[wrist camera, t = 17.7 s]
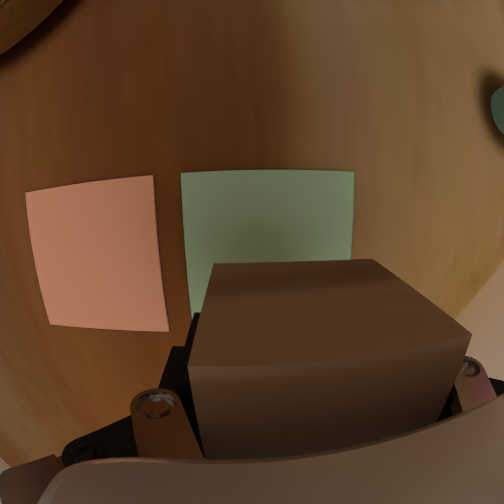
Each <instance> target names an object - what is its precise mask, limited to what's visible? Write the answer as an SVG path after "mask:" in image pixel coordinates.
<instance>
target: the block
mask: <svg viewBox="0 0 504 504" xmlns="http://www.w3.org/2000/svg"><path fill="white" fill-rule="evenodd" d="M471 336H472V334H471V333H470V332H469V331H467V330H466V329H465V328H464V327H463V326H461V325H460V324H459V323H458V322H457V321H455V320H454V319H453V318H451V317H450V316H449V315H448V314H446V313H445V312H444V311H443V310H441V309H440V308H439V307H437V306H436V305H435V304H433V303H432V302H431V301H430V300H428V299H427V298H426V297H424V296H423V295H422V294H420V293H419V292H418V291H416V290H415V289H414V288H412V287H411V286H409V285H408V284H407V283H405V282H404V281H403V280H401V279H400V278H399V277H397V276H396V275H394V274H393V273H392V272H390V271H389V270H387V269H386V268H385V267H383V266H382V265H380V264H379V263H378V262H376V261H375V260H373V259H357V260H326V261H292V262H253V263H214V264H213V267H212V271H211V275H210V279H209V282H208V286H207V290H206V294H205V298H204V302H203V305H202V309H201V313H200V317H199V321H198V325H197V329H196V333H195V337H194V341H193V345H192V349H191V353H190V358H189V362H188V373H189V379H190V385H191V390H192V396H193V401H194V407H195V412H196V417H197V422H198V427H199V432H200V437H201V441H202V446H203V450H204V455H205V459H206V460H231V459H258V458H273V457H284V456H294V455H302V454H310V453H317V452H323V451H329V450H335V449H340V448H346V447H351V446H355V445H360V444H365V443H369V442H373V441H377V440H381V439H385V438H389V437H392V436H396V435H399V434H403V433H406V432H409V431H412V430H416V429H419V428H422V427H425V426H428V425H430V424H433V423H436V421H437V419H438V417H439V415H440V413H441V411H442V409H443V407H444V404H445V402H446V400H447V398H448V396H449V394H450V391H451V389H452V387H453V384H454V382H455V380H456V377H457V375H458V372H459V370H460V367H461V365H462V362H463V359H464V357H465V354H466V351H467V348H468V345H469V342H470V339H471Z"/></svg>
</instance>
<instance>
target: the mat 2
mask: <svg viewBox="0 0 504 504" xmlns="http://www.w3.org/2000/svg"><path fill="white" fill-rule="evenodd" d="M181 189H182V209H183V226H184V240H185V253H186V265H187V276H188V287H189V297H190V306H191V315H192V319H193V315H194V313H195V312H201V309H202V305H203V302H204V298H205V294H206V290H207V286H208V282H209V279H210V275H211V271H212V267H213V264H214V263H253V262H292V261H326V260H350V259H351V246H352V229H353V205H354V172H349V171H325V170H231V171H206V172H188V173H181Z"/></svg>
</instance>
